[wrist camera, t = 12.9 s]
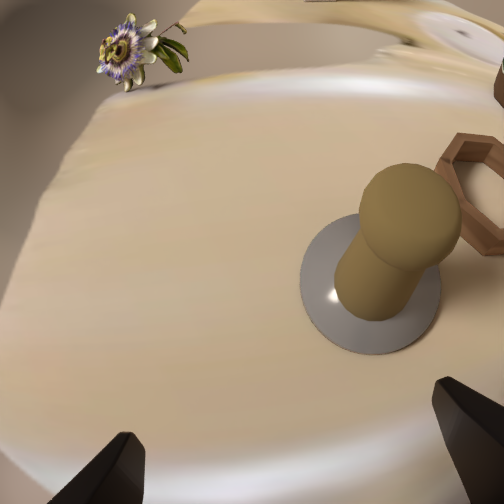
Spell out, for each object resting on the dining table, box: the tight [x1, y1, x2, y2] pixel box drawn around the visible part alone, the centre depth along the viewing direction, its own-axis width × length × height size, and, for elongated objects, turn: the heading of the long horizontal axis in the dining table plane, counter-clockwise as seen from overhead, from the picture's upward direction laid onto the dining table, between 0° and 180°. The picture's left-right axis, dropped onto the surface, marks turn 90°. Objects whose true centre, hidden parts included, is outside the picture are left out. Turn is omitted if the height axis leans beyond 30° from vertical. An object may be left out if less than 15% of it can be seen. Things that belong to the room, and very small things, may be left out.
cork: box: [334, 163, 462, 321], centre depth 17 cm, size 6×6×11 cm
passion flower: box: [96, 13, 189, 92], centre depth 36 cm, size 11×11×12 cm
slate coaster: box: [300, 214, 441, 355], centre depth 23 cm, size 11×11×1 cm
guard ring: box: [434, 133, 504, 256], centre depth 23 cm, size 11×11×3 cm
